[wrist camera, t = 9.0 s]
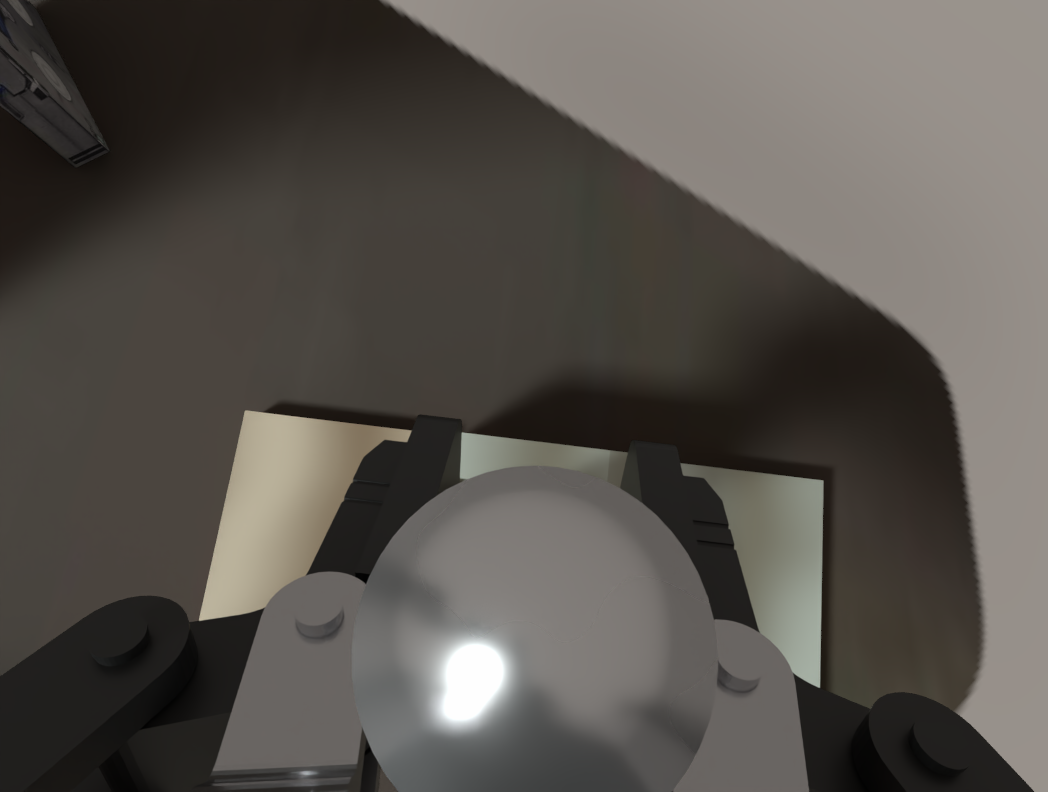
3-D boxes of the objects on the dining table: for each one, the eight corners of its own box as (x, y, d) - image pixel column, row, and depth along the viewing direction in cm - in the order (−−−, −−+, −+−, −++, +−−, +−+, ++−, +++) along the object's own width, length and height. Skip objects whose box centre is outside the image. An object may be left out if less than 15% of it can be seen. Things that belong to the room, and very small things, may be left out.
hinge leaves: (208, 637, 22) (107, 672, 16) (256, 415, 24) (179, 381, 18) (805, 713, 22) (901, 774, 16) (810, 482, 23) (898, 468, 18)
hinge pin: (453, 632, 15) (319, 829, 5) (472, 503, 15) (384, 446, 5) (581, 649, 14) (707, 881, 5) (593, 518, 15) (725, 486, 5)
